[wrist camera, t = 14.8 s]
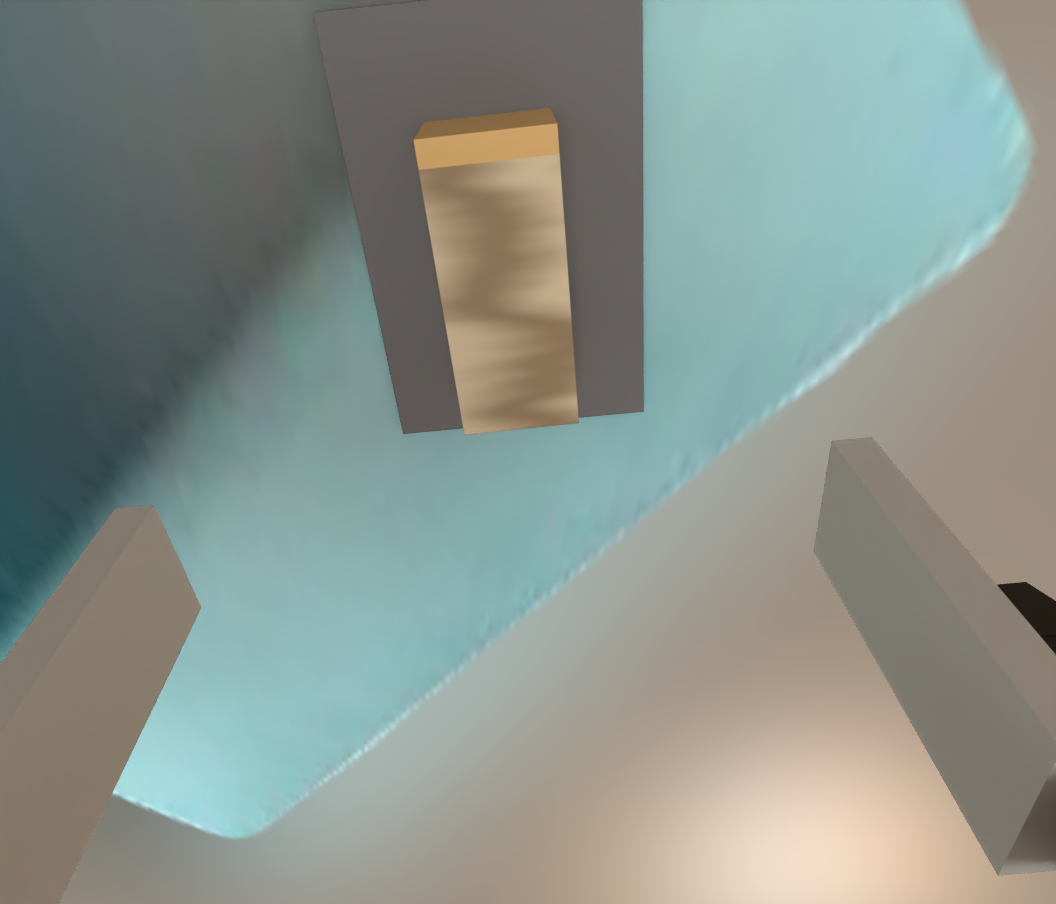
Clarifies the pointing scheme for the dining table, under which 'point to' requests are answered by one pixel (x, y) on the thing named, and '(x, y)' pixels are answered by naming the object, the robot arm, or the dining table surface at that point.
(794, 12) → the dining table surface
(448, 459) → the dining table surface
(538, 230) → the maple block
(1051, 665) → the robot arm
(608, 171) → the rubber mat
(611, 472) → the dining table surface
